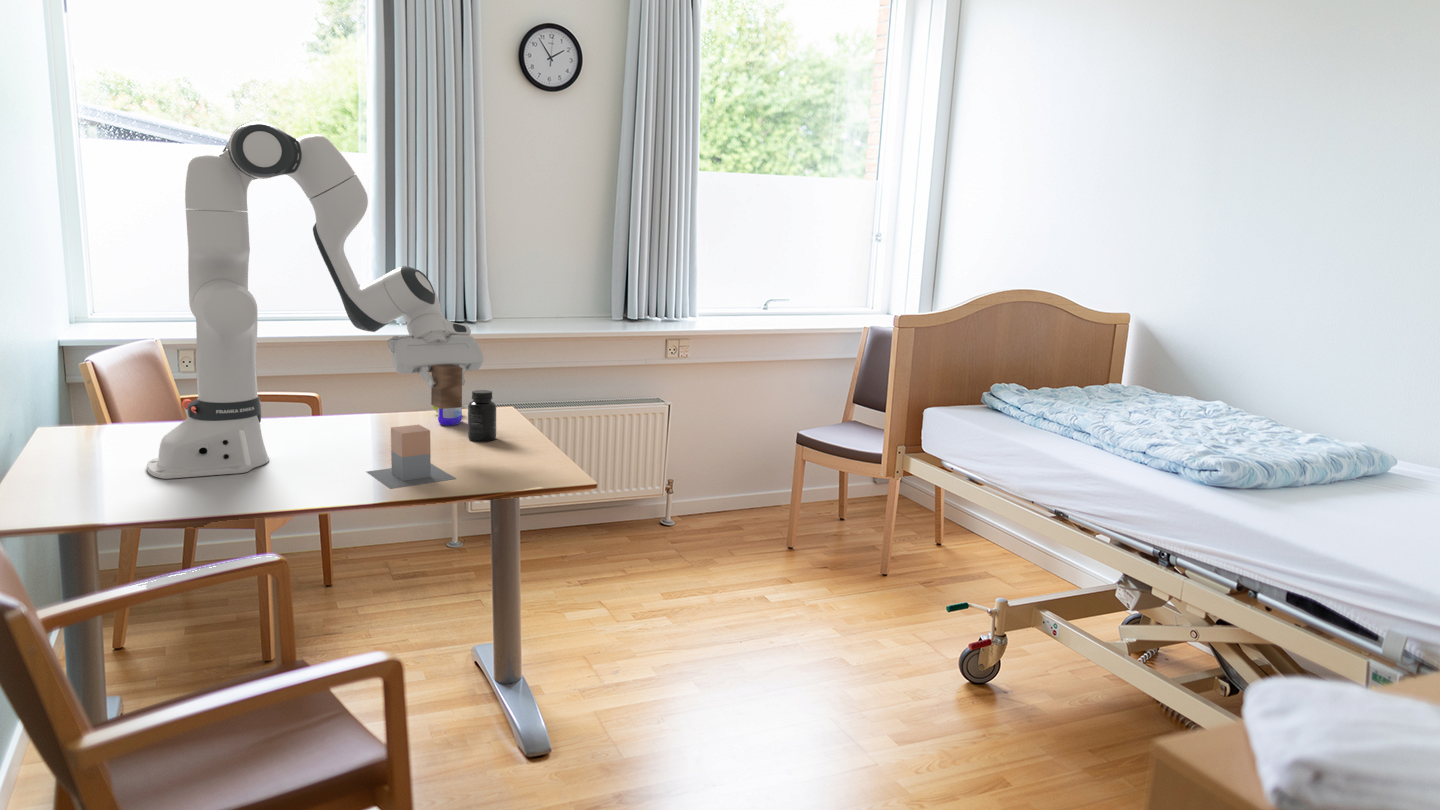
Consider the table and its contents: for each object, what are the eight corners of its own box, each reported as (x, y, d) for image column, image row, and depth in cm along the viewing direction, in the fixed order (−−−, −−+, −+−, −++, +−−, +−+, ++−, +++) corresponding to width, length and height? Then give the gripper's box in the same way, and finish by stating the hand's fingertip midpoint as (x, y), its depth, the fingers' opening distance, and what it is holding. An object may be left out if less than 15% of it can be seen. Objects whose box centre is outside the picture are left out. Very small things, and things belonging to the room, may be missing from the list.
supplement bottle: (501, 439, 227) (502, 392, 224) (477, 443, 222) (477, 395, 220) (486, 434, 231) (486, 387, 229) (462, 438, 226) (462, 390, 224)
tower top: (402, 457, 187) (401, 433, 186) (391, 450, 192) (390, 427, 191) (430, 453, 191) (430, 430, 190) (419, 447, 195) (418, 424, 194)
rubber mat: (390, 490, 183) (390, 488, 183) (365, 473, 193) (365, 471, 193) (456, 480, 192) (456, 478, 192) (430, 464, 202) (430, 463, 202)
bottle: (456, 426, 237) (456, 360, 234) (434, 425, 237) (434, 359, 234) (464, 420, 244) (464, 356, 241) (443, 419, 244) (443, 355, 241)
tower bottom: (402, 480, 188) (402, 457, 187) (391, 473, 193) (391, 450, 192) (430, 476, 192) (430, 453, 191) (419, 469, 196) (419, 447, 195)
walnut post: (440, 408, 203) (440, 368, 201) (431, 404, 206) (431, 365, 205) (461, 407, 206) (462, 367, 204) (452, 403, 210) (452, 364, 208)
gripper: (389, 328, 201) (406, 379, 196) (476, 326, 215) (494, 374, 209) (381, 345, 206) (398, 396, 200) (467, 342, 219) (485, 390, 213)
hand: (448, 385), depth 205 cm, fingers closed on walnut post, 5 cm apart
